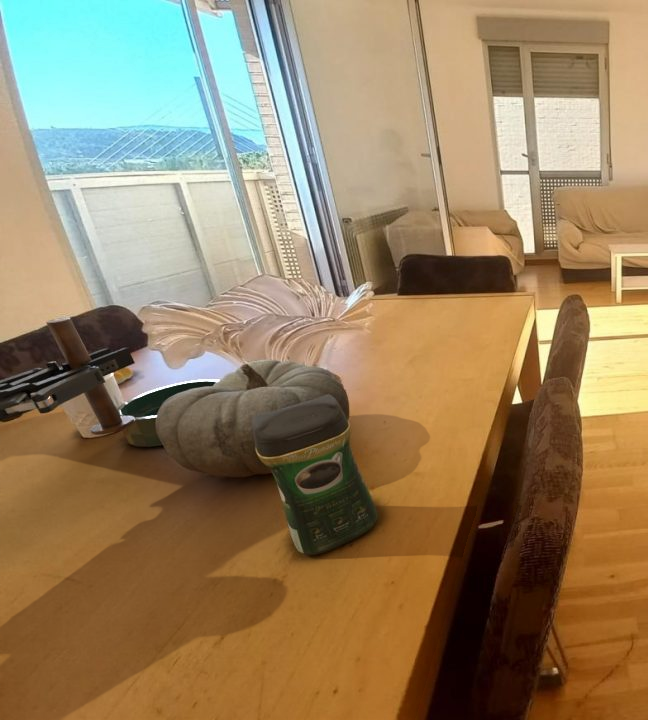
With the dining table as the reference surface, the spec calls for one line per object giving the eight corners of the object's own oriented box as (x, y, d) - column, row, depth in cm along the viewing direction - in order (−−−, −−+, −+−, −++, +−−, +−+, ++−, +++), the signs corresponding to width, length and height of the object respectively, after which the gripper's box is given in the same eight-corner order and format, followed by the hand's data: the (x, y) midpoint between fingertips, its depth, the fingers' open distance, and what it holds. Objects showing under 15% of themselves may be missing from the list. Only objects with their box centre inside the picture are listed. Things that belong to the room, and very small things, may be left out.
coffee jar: (368, 499, 68) (334, 383, 61) (385, 528, 62) (349, 404, 55) (289, 532, 62) (241, 408, 55) (300, 568, 57) (248, 435, 49)
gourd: (121, 507, 64) (94, 383, 60) (220, 438, 87) (205, 346, 83) (330, 489, 70) (317, 376, 66) (370, 429, 94) (362, 343, 90)
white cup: (135, 413, 94) (113, 368, 90) (136, 428, 89) (112, 380, 85) (78, 429, 89) (51, 381, 85) (75, 445, 84) (47, 395, 80)
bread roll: (141, 372, 113) (134, 357, 112) (116, 388, 105) (108, 372, 104) (98, 377, 111) (90, 362, 110) (70, 394, 103) (61, 377, 102)
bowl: (126, 428, 89) (111, 400, 86) (228, 398, 99) (218, 372, 97) (133, 460, 79) (117, 429, 76) (246, 423, 89) (235, 395, 87)
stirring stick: (91, 427, 76) (32, 321, 69) (133, 415, 79) (82, 312, 72) (92, 438, 73) (31, 328, 66) (136, 425, 76) (83, 319, 69)
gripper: (-120, 461, 57) (84, 377, 79) (5, 459, 57) (175, 375, 78) (-163, 406, 54) (62, 335, 76) (-31, 404, 54) (156, 333, 75)
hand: (119, 355), depth 77 cm, fingers closed on stirring stick, 2 cm apart
